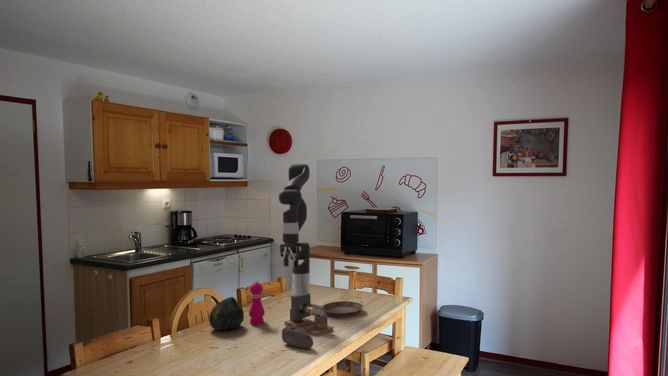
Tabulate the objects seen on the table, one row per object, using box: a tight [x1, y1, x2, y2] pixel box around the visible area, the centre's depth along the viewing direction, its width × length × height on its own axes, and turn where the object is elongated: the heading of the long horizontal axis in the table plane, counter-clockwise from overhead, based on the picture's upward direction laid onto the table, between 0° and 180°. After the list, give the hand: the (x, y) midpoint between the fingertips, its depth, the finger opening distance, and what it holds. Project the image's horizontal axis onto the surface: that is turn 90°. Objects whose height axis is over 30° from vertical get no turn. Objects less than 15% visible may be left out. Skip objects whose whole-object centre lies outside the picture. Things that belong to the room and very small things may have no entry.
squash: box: [208, 296, 245, 331], centre depth 199 cm, size 14×15×15 cm
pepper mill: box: [248, 279, 265, 325], centre depth 207 cm, size 7×7×20 cm
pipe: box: [300, 304, 327, 318], centre depth 199 cm, size 20×3×3 cm, turn 44°
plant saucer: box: [321, 300, 364, 318], centre depth 221 cm, size 21×21×3 cm
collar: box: [290, 292, 312, 320], centre depth 202 cm, size 3×9×10 cm, turn 134°
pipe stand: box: [283, 308, 334, 337], centre depth 199 cm, size 22×10×7 cm, turn 44°
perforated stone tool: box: [281, 325, 314, 349], centre depth 176 cm, size 15×5×7 cm, turn 52°
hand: (291, 267), depth 207 cm, fingers open, 6 cm apart
